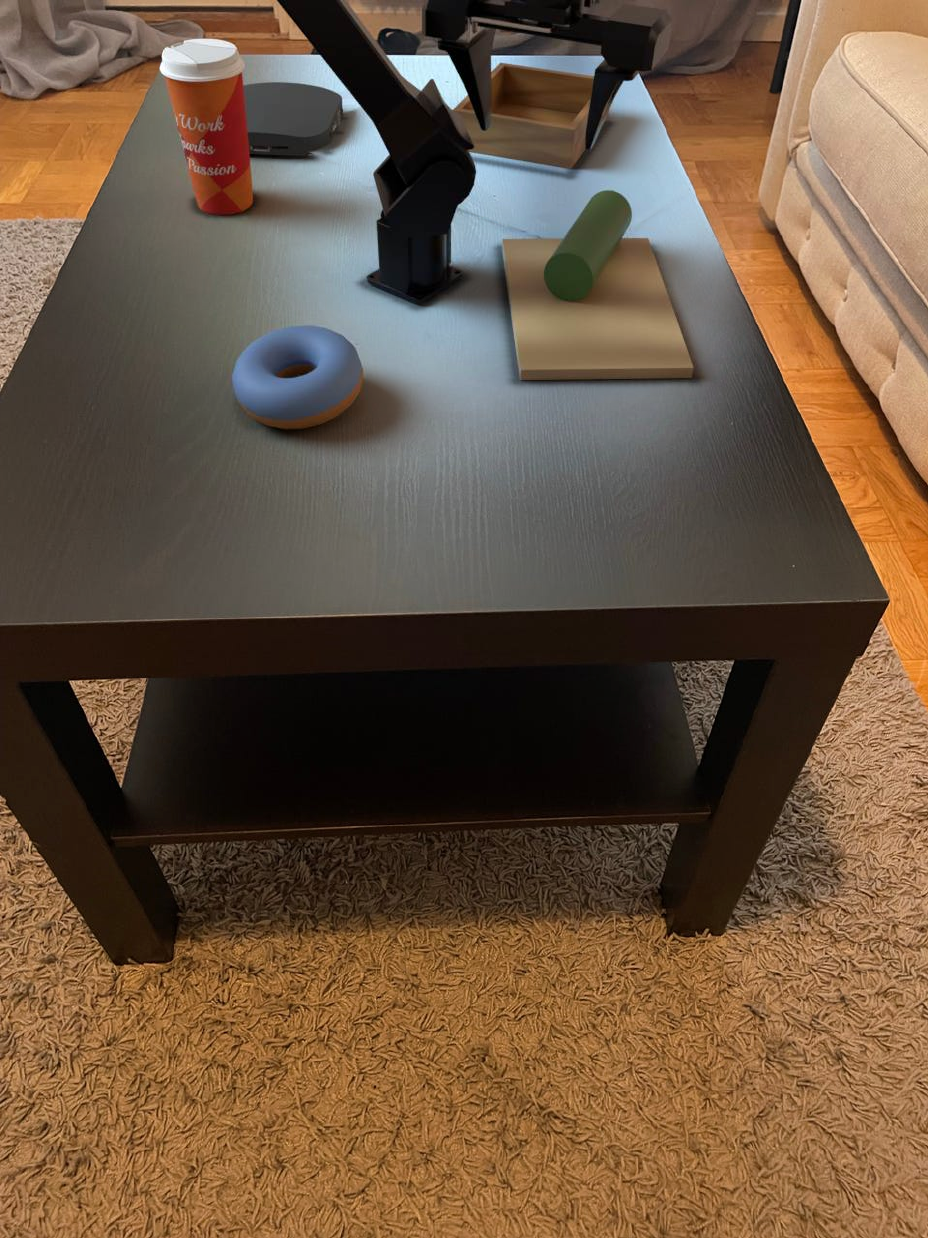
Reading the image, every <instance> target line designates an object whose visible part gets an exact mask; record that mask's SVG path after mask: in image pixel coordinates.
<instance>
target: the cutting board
mask: <svg viewBox="0 0 928 1238" xmlns="http://www.w3.org/2000/svg"><path fill="white" fill-rule="evenodd" d="M563 239H564V237H562V238H502V240H501V252H502V259H503V266H504V267H503V268H504V275H505V279H506V280H505V281H506V289H507V296H508V302H509V309H510V310H509V311H510V318H511V325H512V333H513V338H514V339H513V340H514V346H515V355H516V360H517V369H518V375H519V380H520V381H561V380H562V381H563V380H564V381H565V380H571V381H572V380H638V379H639V380H641V379H642V380H646V379H647V380H648V379H649V380H650V379H692V378H693V373H694V369H695V367H694V365H693V361H692V358H691V356H690V353H689V350H688V347H687V345H686V342H685V339H684V335H683V333H682V330H681V327H680V324H679V322H678V318H677V317H676V314H675V311H674V307H673V304H672V302H671V299H670V296H669V294H668V290H667V288H666V285H665V282H664V279H663V277H662V273H661V270H660V267H659V265H658V262H657V259H656V257H655V253H654V250H653V248H652V245H651V242H650V239H649V238H648V237H622V239H621V240H620V242H619V244H618V245H617V247H616V249H615V250H614V252H613V254H612V255H611V257H610V259H609V260H608V262H607V264H606V265H605V267H604V269H603V270H602V272H601V274H600V275H599V277H598V279H597V280H596V282H595V283H594V285H593V287H592V288H591V290H590V292H589V293H588V294H587V295H586V296H585V297H584V298H582V299H580V300H577V301H564V300H561V299H559V298H557V297H556V296H554V295H553V294H552V293H551V292H550V291H549V289H548V288H547V286H546V283H545V280H544V269H545V266H546V264H547V262H548V260H549V259H550V257H551V256H552V255H553V253H554V252H555V250H556V249H557V247H558V246H559V244H560V243H561V241H562V240H563Z"/></svg>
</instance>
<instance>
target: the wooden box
mask: <svg viewBox="0 0 928 1238" xmlns="http://www.w3.org/2000/svg"><path fill="white" fill-rule="evenodd" d="M593 80H594V75H588V74H581V73H574V72H567V71H560V70H554V69H548V68H547V69H546V68H541V67H533V66H525V65H520V64H513V63H505V62H500V63H499V64H497V65H496V66H495V68H493V69H492V70H491V85H492V111H491V122H490V127H489V129H488V130H487V131H482V130H481V128H480V125H479V122H478V120H477V117H476V115H475V112H474V110H473V107H472V104H471V102H470V99H469V97H468V94H467V95H466V96H464V98H463V99H462V100H461V101H460V102H459V103H458V104H457V105H456V106H455V107H454V108H453V109H452V110H454V111H455V112H457V113H459V114H460V117H461V119H462V121H463V123H464V125H465V127H466V129H467V132H468V134H469V136H470V138H471V140H472V142H473V145H474V148H473V149H470V150H469V153H472V154H479V155H485V156H491V157H497V158H503V159H508V160H514V161H520V162H525V163H532V164H539V165H543V166H549V167H556V168H561V169H568V170H572V168H573V167H574V166H575V165H576V164H577V162H578V160H579V159H580V157H581V156H582V154H583V153H584V152H585V151H586V149H585V133H586V126H587V120H588V113H589V106H590V100H591V93H592V87H593ZM609 116H610V110H609V111H608V113H607V116H606V118H605V120H604V123H605V122H606V121H607V119H609ZM604 123H603V125H604Z"/></svg>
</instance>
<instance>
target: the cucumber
mask: <svg viewBox="0 0 928 1238" xmlns="http://www.w3.org/2000/svg"><path fill="white" fill-rule="evenodd" d="M632 218H633V210H632V207H631V204H630V203H629V201H628V199H627V198H626V197H625V196H624V195H623V194H622V193H619V192H617V191H615V190H609V189H608V190H607V189H606V190H605V189H604V190H601V191H598V192H596V193H595V194H594V195H592V196H591V198H590V199H589V201H588V202H587V203H586V205H585V207H584V208H583V209H582V211H581V212H580V214H579V215H578V217H576V219H575V221H574V222H573V224H572V225H571V227H570V228H569V230H568V231H567V233H566V234H565V235H564V237H563V238H564V239H563V238H562V239H563V240H562V241H561V243H560V244H559V246H558V247H557V249H556V250H555V252H554V253H553V255H552V256H551V257H550V259H549V260H548V262H547V264H546V266H545V269H544V280H545V283H546V286H547V288H548V289H549V291H550V292H551V293H552V294H553V295H554V296H556V297H557V298H559V299H561V300H564V301H577V300H580V299H582V298H584V297H585V296H586V295H587V294H588V293H589V292H590V290H591V288H592V287H593V285H594V283H595V282H596V280H597V279H598V277H599V275H600V274H601V272H602V270H603V269H604V267H605V265H606V264H607V262H608V260H609V259H610V257H611V255H612V254H613V252H614V250H615V249H616V247H617V245H618V244H619V242H620V240H621V239H622V238H624V235H625V233H626V232H627V230H628V229H629V227H630V225H631V223H632Z"/></svg>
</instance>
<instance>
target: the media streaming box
mask: <svg viewBox="0 0 928 1238" xmlns="http://www.w3.org/2000/svg"><path fill="white" fill-rule="evenodd" d="M243 88H244V99H245V110H246V121H247V132H248V143H249V154H251V155H268V156H269V155H271V156H308V155H313V153H312V152H313V151H317V150H320V149H323V148H325V147H327V146H329V144H331V142H332V141H333V139H334V137H335V135H336V134H337V131H338V129H339V127H340V124H341V121H342V119H343V115H344V108H343V96H342V95H341V94H339V93H338V92H336V91H334V90H331V89H329V88H325V87H322V86H318V85H313V84H305V83H300V82H299V83H298V82H297V83H296V82H288V81H287V82H285V81H271V82H270V81H269V82H255V83H249V84H243Z"/></svg>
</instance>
